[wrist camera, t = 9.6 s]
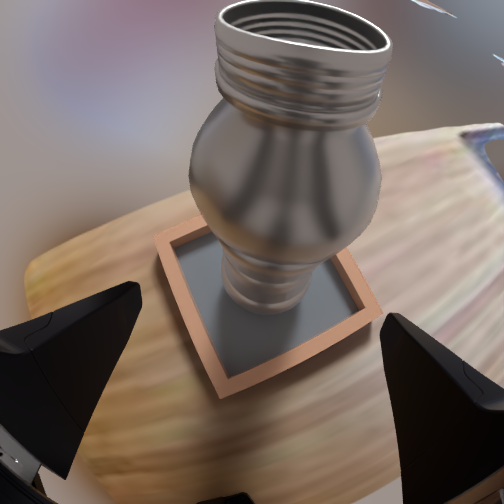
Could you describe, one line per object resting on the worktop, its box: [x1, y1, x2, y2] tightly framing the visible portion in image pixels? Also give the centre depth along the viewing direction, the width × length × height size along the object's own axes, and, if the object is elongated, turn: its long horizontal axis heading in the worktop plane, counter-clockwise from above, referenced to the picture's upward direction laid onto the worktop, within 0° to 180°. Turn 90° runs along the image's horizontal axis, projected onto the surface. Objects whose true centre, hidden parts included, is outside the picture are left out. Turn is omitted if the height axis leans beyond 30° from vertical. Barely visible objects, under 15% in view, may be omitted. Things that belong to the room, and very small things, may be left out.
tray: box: [153, 215, 383, 399], centre depth 22 cm, size 14×14×2 cm
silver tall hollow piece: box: [189, 0, 393, 315], centre depth 13 cm, size 6×7×20 cm
